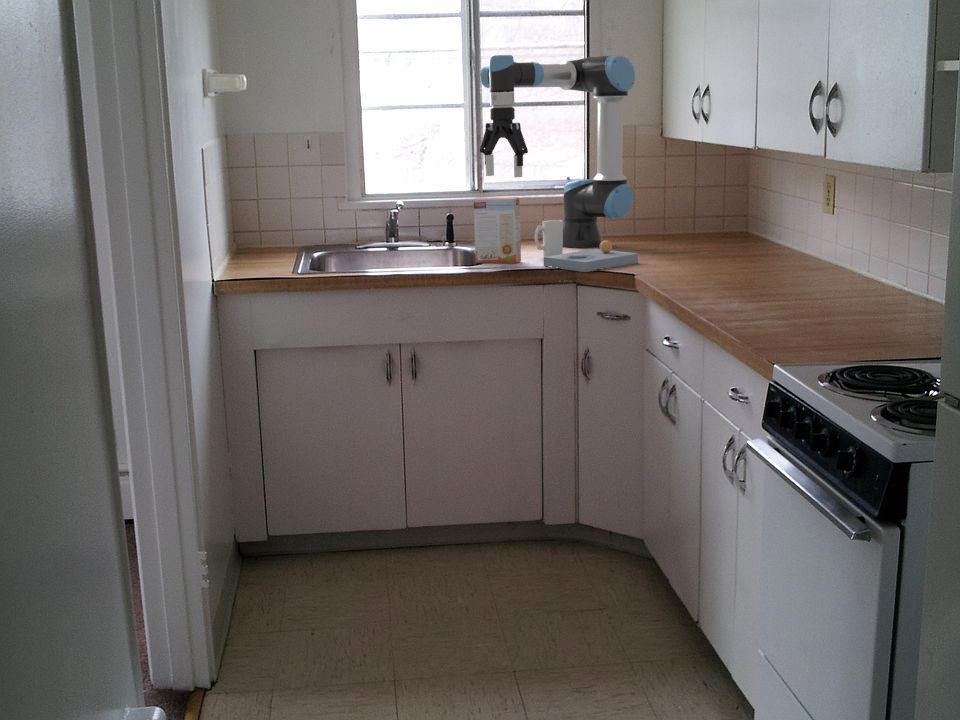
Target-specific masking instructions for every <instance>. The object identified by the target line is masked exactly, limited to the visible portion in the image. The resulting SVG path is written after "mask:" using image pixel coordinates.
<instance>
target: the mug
mask: <svg viewBox="0 0 960 720" xmlns="http://www.w3.org/2000/svg"><path fill="white" fill-rule="evenodd" d="M541 221H542V223H541V224H542V225H537V226H536V229H535V231H534V242H535V245H536V248H537V249H538V250H539V251H541V250H542V251H543V252H542V253H543V258H544V257H547V256H553V255H560V254H563V252H564V251H563V227H564V221H563V220H562V219H548V220H541ZM540 231H542V245H541V244H540V241H539V233H540Z"/></svg>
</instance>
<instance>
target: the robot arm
mask: <svg viewBox="0 0 960 720" xmlns="http://www.w3.org/2000/svg"><path fill="white" fill-rule="evenodd" d="M633 65H634V64H633V63H632V62H631V61H630V60H629V58H627V56H625V55H624V56H623V55H614V54H611V55H603V56H601V55H600V56H591V57H590V56H588V57H584V58H580V59H574V60H563V61H561V62H560V63H540V62H536V61H532V60H531V61H515V60H514V56H513V55H512V54H496V55H491V56H490V57H489V61H488V64H486V65H484V66H483V67H482V68H481V70H480V73H479V79H480V83H481V85H482V86H483V87H484V88H486V89H489V104H490V105H489V106H490V107H491V108H490V110H489V111H490V113H489V115H490V120H491V121H492V122H486V123H485V128H484V129H485V131H484V134H483V138H482V141H481V144H480V147H479V148H480V149H479V153H481V154H483V155H484V165H485V176H486V177H493V176H495V162H494V159H495V157H494V154H493V152H494V150H495V147H496V146H497V144H498V141H499V140H500V139H503V138H505V140H507V142H508V144H509V145H510V147H511V149H512V150H513V152H514V154H513V173H514V174H513V177H514V178H523V166H524V155H526V154H528V153H529V150H528V147H527V144H526V141H525V138H524V135H523V133H522V129H521V123H520V122H513V120H515V117H516V116H515V107H514V106H515V103H516V102H515V88H516V89H517V88H518V89H519V88H520V89H521V88H560V89H561V90H563V91H564V90H565V91H578V92H587V93H592V98H593V100H595V102H596V103H597V115H596V116H597V118H596V119H597V122H596V123H597V126H596V128H597V130H596V131H597V137H596V139H597V141H596V142H597V143H596V144H597V145H596V147H597V151H596V152H597V153H596V158H597V161H596V164H597V166H596V169H597V171H596V172H597V173H596V174H595V176H594V177H593V178H590V179H582V180H574V181H572V180H571V181H568V182H566V183H565V184H564V187H563V189H564V190H563V212H564V213H563V214H564V215H563V217H564V221H563V247H565V248H594V247H600V243H601V242H602V241H603V238H602V236H601V233H600V229H599V226H598V218H604V219H605V218H606V219H609V220H610V219H622V218H623V217H625V216H627V215H628V214H629V212H630V211H631V210H632V206H633V205H634V200H635V198H634V192H633V190H632V187H631V186H630V185H628V184H627V181H628V180H627V177H626V176H625V175H624V174H623V149H624V148H623V147H624V145H623V140H624V139H623V138H624V137H623V135H624V134H623V132H624V129H623V128H624V125H623V124H624V123H623V122H624V114H623V113H624V102H625V100H626V99H627V98H628V94H629V92H628V91H630V90H631V89H632V88H633V87H634V86H633V85H634V84H635V80H636V71H635V68H634V66H633Z"/></svg>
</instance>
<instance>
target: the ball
mask: <svg viewBox="0 0 960 720" xmlns="http://www.w3.org/2000/svg"><path fill="white" fill-rule="evenodd" d="M599 249H600V250H601V251H602V252H604V253H608V252H610V251H613V244H612V242H611V241H610V240H608V239H607V240H606V239H605V240H602V242H601V243H600V246H599Z"/></svg>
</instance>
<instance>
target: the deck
mask: <svg viewBox="0 0 960 720" xmlns="http://www.w3.org/2000/svg"><path fill="white" fill-rule="evenodd" d="M638 263H639V253H637V252H628V251H619V250H611V251H610V252H608V253H604V252H602V251H601V250H600V248H594V249H586V250H580V251H574V252H573V251H572V252H567V253H566V252H565V253H562V254H560V255H553V256H547V257H544V256H543V267H544V266H552V267H558V268H561V270H568V271H574V272H582V273H587V272H588V273H589V272H594V271H598V270H597V269H601V270H605V269H604V268H606V269H611V268H617V267H622V266H630V265H633V264H638ZM558 268H557V269H558Z"/></svg>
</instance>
